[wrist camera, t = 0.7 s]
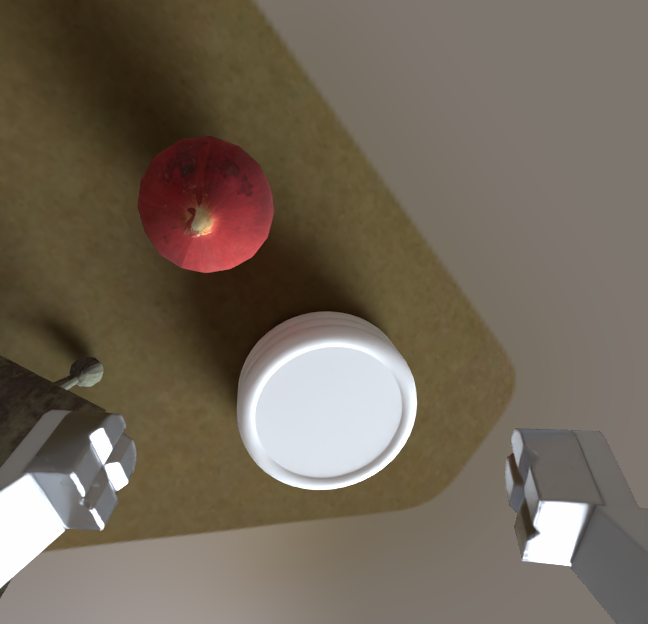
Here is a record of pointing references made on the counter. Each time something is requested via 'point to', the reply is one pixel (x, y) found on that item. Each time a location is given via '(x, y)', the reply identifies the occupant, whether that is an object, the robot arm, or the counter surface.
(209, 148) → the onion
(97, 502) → the robot arm
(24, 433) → the tabletop clock
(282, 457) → the white round flat cylinder
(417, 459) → the counter surface
